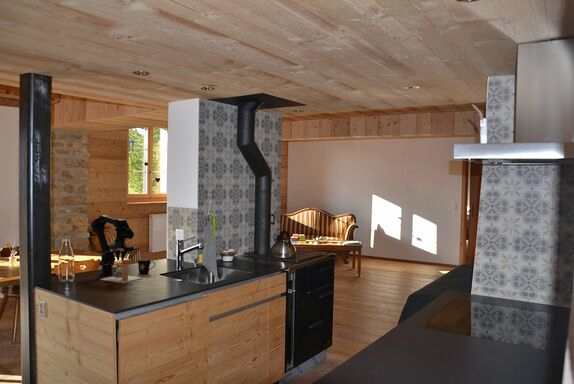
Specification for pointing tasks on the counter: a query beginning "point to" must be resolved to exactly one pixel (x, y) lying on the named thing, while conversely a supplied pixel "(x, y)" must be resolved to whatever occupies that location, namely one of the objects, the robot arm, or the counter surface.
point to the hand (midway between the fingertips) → (120, 260)
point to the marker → (125, 270)
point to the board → (120, 278)
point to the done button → (119, 270)
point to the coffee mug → (144, 266)
